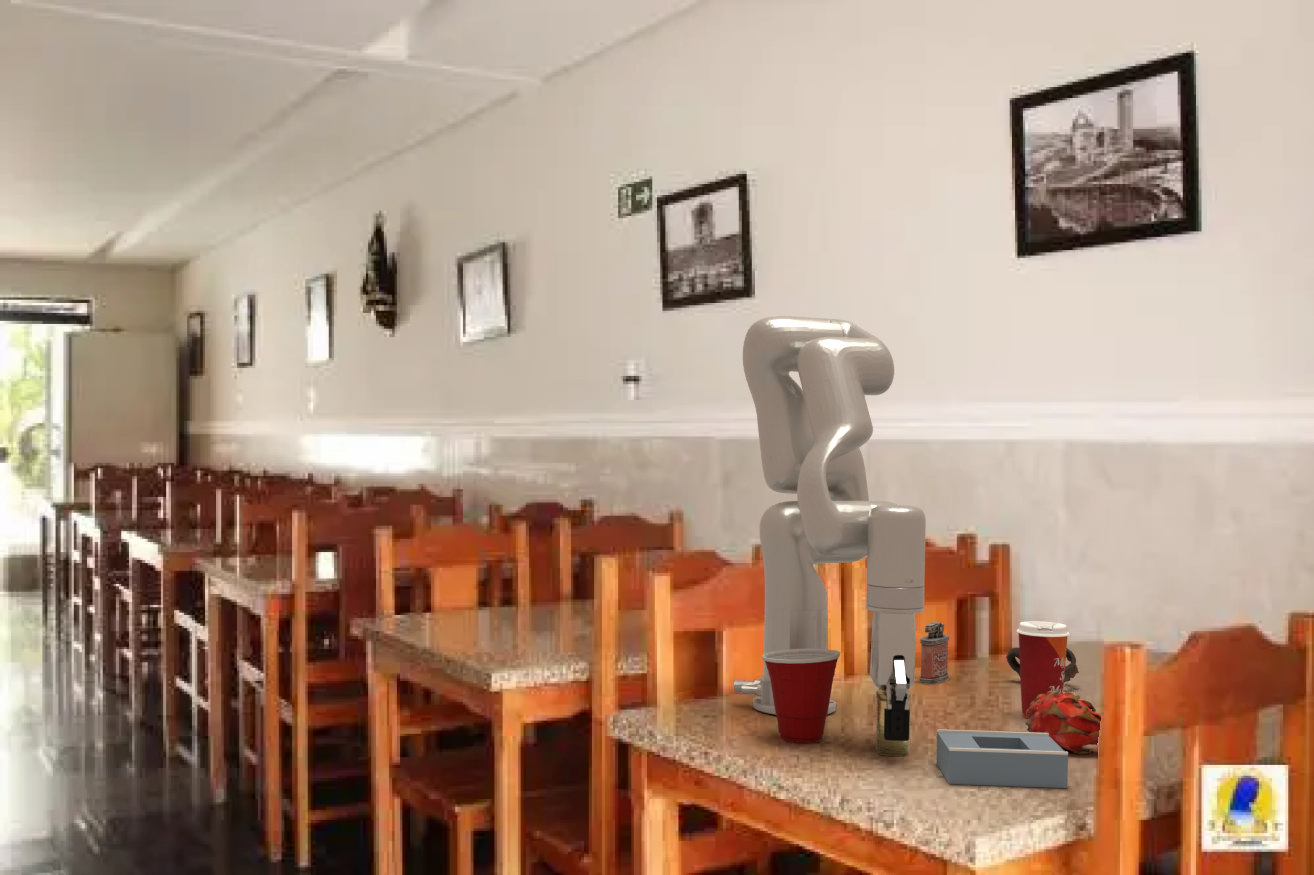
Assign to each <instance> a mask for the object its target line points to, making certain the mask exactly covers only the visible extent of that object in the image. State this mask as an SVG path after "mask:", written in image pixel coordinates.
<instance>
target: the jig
mask: <svg viewBox="0 0 1314 875" xmlns="http://www.w3.org/2000/svg"><path fill="white" fill-rule="evenodd" d="M935 763H936V764H937V766H938V768H939V770H940V771H941V773H942V775H943V776H944V779H945V780H946V782H947V783H948V784H949V785H968V786H971V785H972V786H995V787H996V786H997V787H999V786H1001V787H1021V788H1022V787H1023V788H1025V787H1026V788H1048V789H1049V788H1051V789H1068V784H1069V783H1068V781H1069V780H1068V777H1069V767H1068V766H1069V752H1068V751H1065V749H1064V748H1061V747H1060V746H1059V745H1058V744H1057V743H1056V742H1055V741H1054V740H1053V739H1052V738H1050V737H1049V733H1033V732H1029V731H998V730H997V731H996V730H995V731H994V730H974V729H973V730H971V729H969V730H968V729H967V730H965V729H942V728H941V729H936V762H935Z"/></svg>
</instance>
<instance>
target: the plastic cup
mask: <svg viewBox="0 0 1314 875" xmlns="http://www.w3.org/2000/svg"><path fill="white" fill-rule="evenodd" d="M839 657H841V652H840V651H838V650H834V649H828V648H827V649H792V650H781V651H774V652H769V653H766V654H764V653H763V654H762V655H761V659H762V660H763V662H764V661H765V664H766V666H767V669H768V672H769V676H770V680H771V687H772V693H773V699H774V706H775V712H776V714H777V715H776V720H777V728H778V729H777V730H778V734H779V737H780V739H781V740H783V741H786V742H790V743H796V744H797V743H799V744H811V743H818V742H821V741H822V738H823V736H824V732H825V726H826V721H827V716H828V715H829V714H828V708H829V702H830V699H831V695H832V689H833V684H834V682H833V681H834V678H835V675H836V668H837V663H838V660H839Z"/></svg>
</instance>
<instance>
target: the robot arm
mask: <svg viewBox="0 0 1314 875" xmlns="http://www.w3.org/2000/svg"><path fill="white" fill-rule="evenodd" d="M742 366H743V372H744V376H745V380H746V383H747V387H748V388H749V391H750V395H751V397H752V400H753V403H754V407H755V412H756V419H757V430H758V431H757V432H758V440H759V441H758V442H759V448H760V459H761V466H762V467H761V468H762V472H763V477H764V480H765V483H766V485H767V486H768V488H769V489H771V491H773V492H775V493H776V492H777V493H781V494H788V495H789V494H791V495H792V494H794V495H796V496H797V500H789V501H788V500H787V501H783V502H781V501H780V502H778V503H775V504H773V505H772V506H769V507H768V508H767V509H766V510H765V511H764V512H763V514H762V516H761V519H760V522H759V540H760V541H759V542H760V545H761V546H760V547H761V553H762V560H763V569H764V572H763V573H764V626H763V627H764V630H763V635H764V636H763V654H766V653H769V652H774V651H781V650H792V649H828V648H827V647H828V645H827V643H828V642H827V640H828V592H827V589H826V586H825V584H824V582H823V580H822V578H821V577H820V575H819V574H818V572H817V570H816V569H815V566H814V565H819V564H837V563H838V564H840V563H853V562H857V561H860V560H862V559H864V558H865V557H866V558H867V559H866V563H867V564H866V566H867V567H866V606H865V607H866V610H868V611H871V612H873V614H872V623H871V625H872V626H871V644H870V647H871V648H870V665H869V676H870V678H871V681H872V682H873V684H874V685H875V687H876V688H878V689H885V688H886V702H887V709H886V708H884V738H885V740H892V741H908V740H909V729H910V730H911V709H910V710H909V696H908V691H909V690H910V689H911V688H912V687H913V686H914V683H915V668H916V665H915V663H916V614H917V613H923V612H925V588H926V587H925V578H926V577H925V574H926V573H925V572H926V530H927V529H926V525H927V524H926V514H925V512H924V510H923V509H921V508H920V507H918V506H914V505H900V504H898V503H894V502H892V501H885V500H870V498H869V490H868V481H867V473H866V466H865V460H864V457H863V453H862V451H861V449H860V448H861V447H862V446H863V445H865V444H866V443H868V441H869V440H870V439H871V437H872V435H873V432H874V426H873V422H872V419H871V415H870V411H869V408H868V404H867V401H866V400H867V399H866V396H879V395H883V394H884V393H886V392H887V391H888V390H889V389H890V387H891V385H892V384H893V382H894V378H895V364H894V359H893V356H892V354H891V351H890V350H889V348H888V346H886V344H885V343H884V342H883V341H882V340H881V339H880V338H878V337H876V336H875V335H873V334H871V333H870V332H868V331H867V330H865V329H863V328H862V327H860V326H858V325H857V324H854V323H853V322H850V321H848V320H843V319H838V318H837V319H836V318H821V317H820V318H819V317H806V316H791V315H789V316H788V315H787V316H785V315H779V316H770V317H769V316H768V317H765V318H761V319H759V320H757V321H755V322H754V323H752V324H751V325H750V327H749V328H748V330H747V332H746V334H745V337H744V341H743V347H742ZM790 372H793V373H794V372H796V373H798V377H799V382H800V385H801V387H800V385H799V384H798V383H797V382H796V381H795V379H793V377H792V376H790ZM891 692H892V694H891ZM736 693H737V694H741V695H754V696H755V697H754V698H753V700H752V707H753V708H754V709H755V710H756V711H759V712H760V713H761V712H762V713H765V714H771V715H775V716H777V714H776V712H775V706H774V699H773V693H772V687H771V680H770V676H769V672H768V669H767V666H766V664H765V661H764V660H763V673H762V674H760V678H754V680H753V681H751V680H746V679H745V680H743V679H739V680H737V679H733V694H736ZM891 698H892V699H891ZM836 710H837V703H836V701H835V700H834V699H831V698H830V702H829V708H828V714H827V715H829V714H832V713H834V712H836Z"/></svg>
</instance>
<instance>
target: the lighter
mask: <svg viewBox="0 0 1314 875" xmlns="http://www.w3.org/2000/svg"><path fill="white" fill-rule="evenodd" d="M944 631H945V623H943V622H937V621H931V622H930V623H929V624H926V625H925V626H924V633H927V634H928V635H925V636H922V637H921V638H920V640H919V642H920V645H921V646H920V647H921V648H920V649H921V651H920V656H921V658H920V659H921V660H920V676H919V684H921V685H937V684H941V683H945V682H946V681H948V680H949V679H950V678H949V677H950V676H949V675H950V674H949V673H948V672H949V671H948V669H949V668H948V666H949V665H948V663H949V662H948V659H949V641H950V635H949V634H945V633H944Z"/></svg>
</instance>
